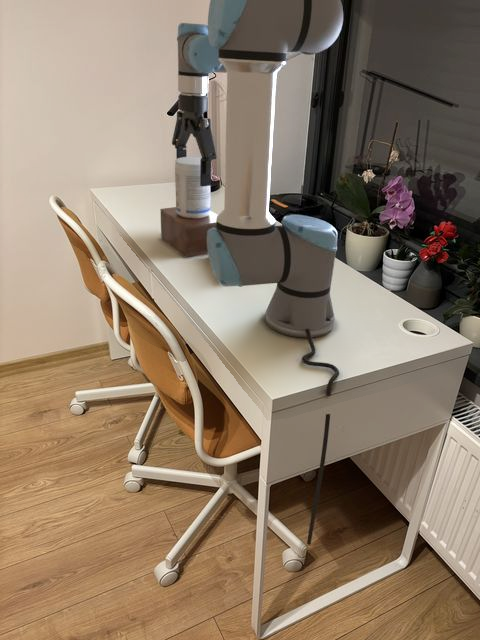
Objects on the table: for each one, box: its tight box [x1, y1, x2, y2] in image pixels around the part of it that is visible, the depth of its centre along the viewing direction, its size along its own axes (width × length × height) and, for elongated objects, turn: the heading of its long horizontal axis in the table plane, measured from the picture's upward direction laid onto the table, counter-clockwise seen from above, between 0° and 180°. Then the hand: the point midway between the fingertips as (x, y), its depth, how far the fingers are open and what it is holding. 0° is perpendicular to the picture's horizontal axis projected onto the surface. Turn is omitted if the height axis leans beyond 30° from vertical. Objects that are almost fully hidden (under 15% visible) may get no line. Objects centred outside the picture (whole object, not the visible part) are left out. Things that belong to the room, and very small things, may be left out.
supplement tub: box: [174, 156, 211, 219], centre depth 151 cm, size 10×10×15 cm
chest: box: [160, 211, 216, 258], centre depth 158 cm, size 16×13×8 cm
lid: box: [160, 206, 219, 229], centre depth 155 cm, size 16×13×1 cm
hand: (193, 179), depth 150 cm, fingers open, 13 cm apart
